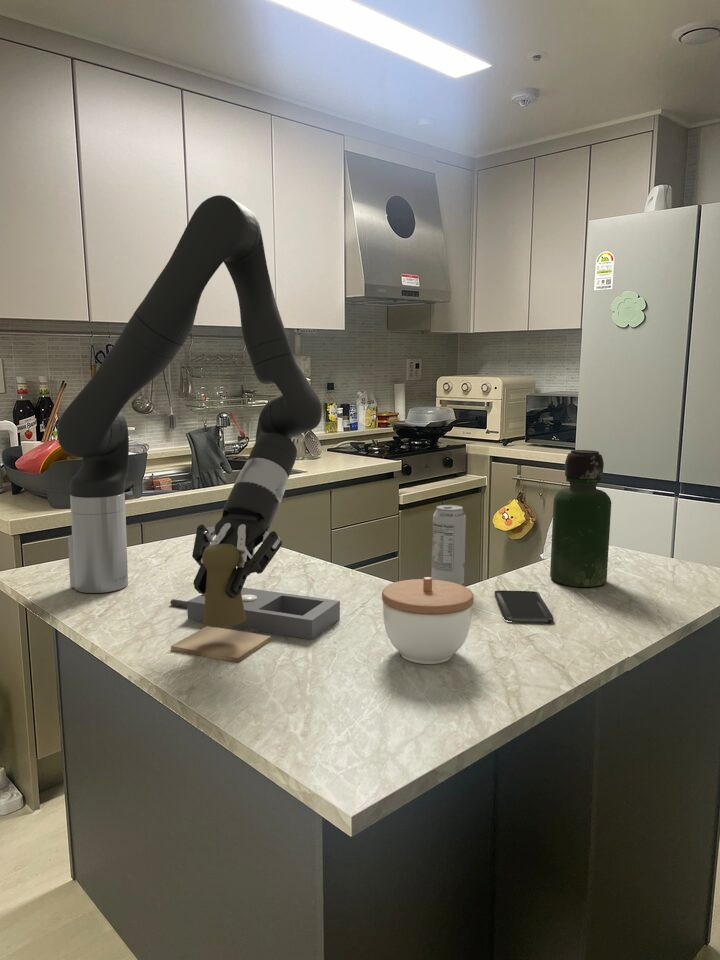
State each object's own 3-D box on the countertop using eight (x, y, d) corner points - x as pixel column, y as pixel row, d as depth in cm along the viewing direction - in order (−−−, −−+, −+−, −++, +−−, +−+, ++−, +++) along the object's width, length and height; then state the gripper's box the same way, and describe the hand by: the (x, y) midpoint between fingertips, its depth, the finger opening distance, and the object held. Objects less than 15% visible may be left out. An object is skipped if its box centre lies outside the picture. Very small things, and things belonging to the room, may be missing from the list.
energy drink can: (470, 587, 131) (473, 508, 129) (446, 593, 128) (448, 511, 126) (448, 580, 136) (450, 503, 134) (424, 585, 133) (426, 506, 130)
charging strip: (151, 613, 115) (151, 592, 115) (188, 596, 124) (188, 576, 124) (312, 639, 104) (312, 616, 104) (339, 618, 114) (339, 597, 113)
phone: (505, 618, 113) (493, 590, 127) (504, 625, 113) (493, 596, 128) (555, 619, 112) (538, 591, 127) (555, 626, 112) (538, 597, 127)
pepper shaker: (225, 630, 97) (220, 551, 96) (194, 623, 101) (189, 547, 99) (254, 617, 102) (250, 542, 101) (224, 611, 106) (219, 538, 104)
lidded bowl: (381, 637, 106) (382, 565, 104) (466, 638, 105) (468, 566, 104) (380, 671, 93) (382, 590, 92) (477, 673, 93) (480, 592, 91)
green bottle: (539, 579, 137) (545, 450, 133) (568, 570, 144) (575, 447, 140) (588, 592, 129) (596, 455, 126) (616, 581, 136) (624, 452, 133)
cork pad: (171, 649, 100) (170, 645, 100) (207, 629, 108) (207, 625, 108) (238, 662, 96) (238, 658, 96) (271, 640, 104) (271, 636, 104)
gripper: (206, 477, 108) (159, 574, 99) (289, 482, 103) (247, 585, 94) (227, 505, 114) (184, 600, 105) (306, 512, 109) (268, 612, 99)
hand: (214, 592), depth 99 cm, fingers closed on pepper shaker, 4 cm apart
